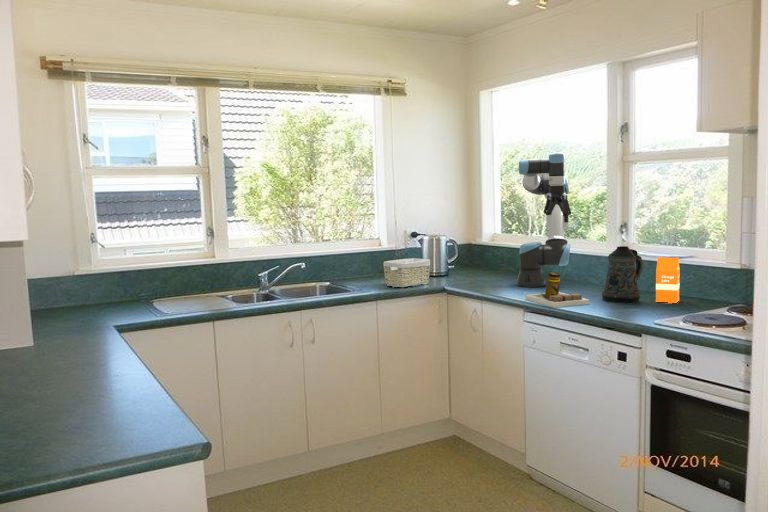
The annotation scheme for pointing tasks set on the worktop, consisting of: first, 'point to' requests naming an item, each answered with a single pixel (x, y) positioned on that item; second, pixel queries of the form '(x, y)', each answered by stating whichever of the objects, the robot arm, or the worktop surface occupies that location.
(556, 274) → the condiment
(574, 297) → the block
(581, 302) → the tray
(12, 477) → the worktop surface
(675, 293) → the orange juice
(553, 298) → the block
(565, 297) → the block
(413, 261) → the storage basket
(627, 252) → the beer stein
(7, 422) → the worktop surface
